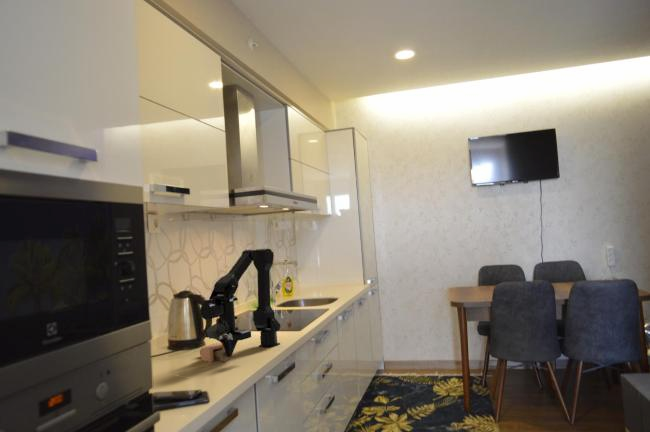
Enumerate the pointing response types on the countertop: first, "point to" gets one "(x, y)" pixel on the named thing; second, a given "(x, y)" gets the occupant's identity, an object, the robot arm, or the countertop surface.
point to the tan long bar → (219, 355)
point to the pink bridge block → (210, 351)
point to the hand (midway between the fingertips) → (229, 357)
